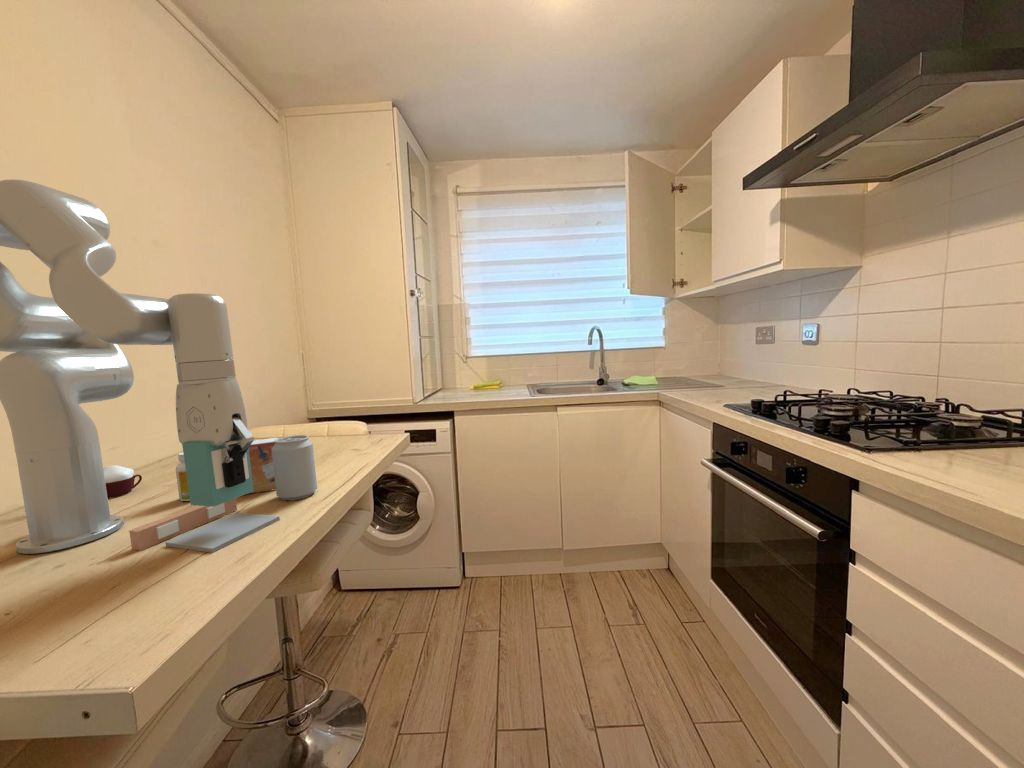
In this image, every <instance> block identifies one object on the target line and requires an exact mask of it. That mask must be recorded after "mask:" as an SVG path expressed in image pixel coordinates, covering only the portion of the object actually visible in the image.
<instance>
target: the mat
mask: <svg viewBox="0 0 1024 768" xmlns="http://www.w3.org/2000/svg"><path fill="white" fill-rule="evenodd" d="M280 520H281V517H280V516H278V515H270V514H269V515H268V514H258V513H248V512H240V511H239V512H236V511H235V512H233V513H231V514H228V515H226V516H225V517H223V518H222V517H221V518H220V519H216V520H214V521H213V522H209V523H207V524H205V525H202V527H201V526H200V527H199V528H198V527H197V529H196V528H195V529H193V530H192V531H191V530H190V531H188V532H187V533H183V534H182V535H180V536H176V537H175V538H173V539H171V540H170V539H169V540H168V541H165V546H166V547H170V548H175V549H177V548H178V549H182V550H183V549H184V550H192V551H197V552H198V551H199V552H206V553H212V554H213V553H215V552H217V551H219V550H221V549H223V548H226V547H228V546H229V545H231V544H233V543H236V542H238V541H239V540H242V539H243V538H245V537H247V536H249V535H251V534H253V533H255V532H258V531H260V530H261V529H264V528H266V527H268V526H270V525H272V524H274V523H276V522H278V521H280Z"/></svg>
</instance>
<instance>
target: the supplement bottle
mask: <svg viewBox="0 0 1024 768" xmlns="http://www.w3.org/2000/svg"><path fill="white" fill-rule="evenodd" d="M177 456H178V461H179V463H178V464H177V465H176V467H175V474H176V481H177V482H176V484H177V490H178V498H179V502H183V501H189V502H190V496H189V489H188V482H187V475H186V468H185V461H184V454H183V451H182V452H179V453H178V454H177Z"/></svg>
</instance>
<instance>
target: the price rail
mask: <svg viewBox="0 0 1024 768" xmlns="http://www.w3.org/2000/svg"><path fill="white" fill-rule="evenodd" d="M235 510H237V511H238V507H237V498H235V499H232V500H230V501H227V502H224V503H222V504H219V505H217V506H214V507H212V506H198V505H193V506H192V507H190V508H187V509H184V510H182V511H178V512H176V513H173V514H170V515H168V516H165V517H162V518H160V519H157V520H154V521H152V522H149V523H147V524H144V525H143V524H142V525H141V526H140V525H139V526H138V527H135V528H133V529H131V530H128V532H129V537H130V538H129V539H130V545H131V550H133V551H134V550H135V551H144V550H145V549H148V548H150V547H153V546H155V545H157V544H160V543H163V542H164V541H165V542H166V541H167V540H170V539H171V538H173V537H178V536H179V535H181V534H182V535H183V534H185V533H186V532H189V531H191V530H194V529H196V528H198V527H200V526H199V525H201V526H203V525H205V524H204V523H206V524H208V523H210V522H212V521H211V520H213V521H215V520H217V519H216V518H218V519H219V517H220V518H222V517H224V515H225V516H227V515H229V514H228V513H230V514H232V513H234V512H236V511H235ZM233 511H234V512H233ZM231 512H232V513H231ZM226 514H227V515H226ZM214 519H215V520H214ZM209 521H210V522H209ZM207 522H208V523H207ZM202 524H203V525H202ZM197 526H198V527H197ZM195 527H196V528H195ZM193 528H194V529H193ZM190 529H191V530H190ZM188 530H189V531H188Z"/></svg>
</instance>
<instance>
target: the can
mask: <svg viewBox="0 0 1024 768" xmlns="http://www.w3.org/2000/svg"><path fill="white" fill-rule="evenodd" d="M274 442H275V445H274V446H273V447H272V449H271V450H272V459H273V468H274V477H275V486H276V490H275V492H276V494H275V495H276V497H277V498H280V499H281V500H282V501H286V500H291V501H297V499H298V500H302V499H305V497H306V498H308V497H311V496H312V495H314V493H315V491H316V490H318V484H317V483H318V480H317V472H316V462H315V461H316V460H315V451H314V444H313V443H314V442H313V441H311V439H309V435H305V434H303V435H302V434H301V435H299V434H298V435H291V436H289V435H288V436H284V437H280V438H278V439H277V440H275V441H274ZM301 498H302V499H301Z"/></svg>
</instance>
